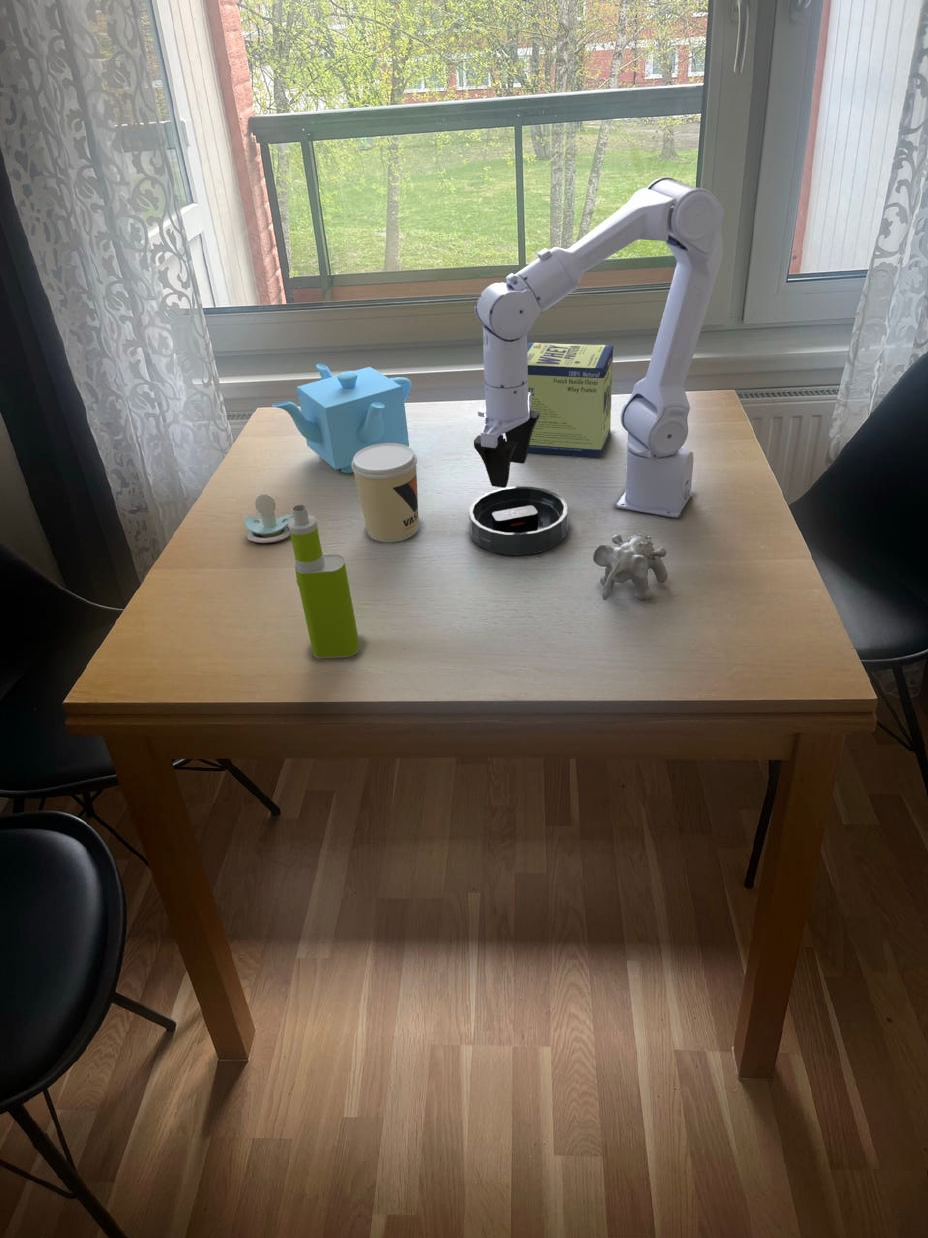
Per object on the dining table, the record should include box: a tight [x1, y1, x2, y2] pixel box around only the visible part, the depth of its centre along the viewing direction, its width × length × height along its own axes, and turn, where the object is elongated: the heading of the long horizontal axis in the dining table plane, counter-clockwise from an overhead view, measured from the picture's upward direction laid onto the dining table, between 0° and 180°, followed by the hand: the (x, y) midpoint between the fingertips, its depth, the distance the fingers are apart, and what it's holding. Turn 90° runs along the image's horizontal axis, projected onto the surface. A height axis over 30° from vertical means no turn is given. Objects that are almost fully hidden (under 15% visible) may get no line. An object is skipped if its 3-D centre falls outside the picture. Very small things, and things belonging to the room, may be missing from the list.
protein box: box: [527, 342, 614, 459], centre depth 150 cm, size 10×16×16 cm
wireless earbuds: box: [492, 505, 538, 533], centre depth 131 cm, size 5×7×3 cm, turn 104°
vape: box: [287, 504, 360, 659], centre depth 106 cm, size 4×6×20 cm, turn 90°
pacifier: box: [243, 493, 294, 544], centre depth 134 cm, size 7×6×6 cm
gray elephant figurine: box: [592, 532, 669, 601], centre depth 114 cm, size 9×12×8 cm
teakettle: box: [271, 363, 413, 474], centre depth 151 cm, size 19×19×15 cm
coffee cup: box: [352, 443, 419, 543], centre depth 131 cm, size 9×9×12 cm
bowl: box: [468, 485, 569, 556], centre depth 131 cm, size 14×14×4 cm
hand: (508, 473), depth 126 cm, fingers open, 7 cm apart
